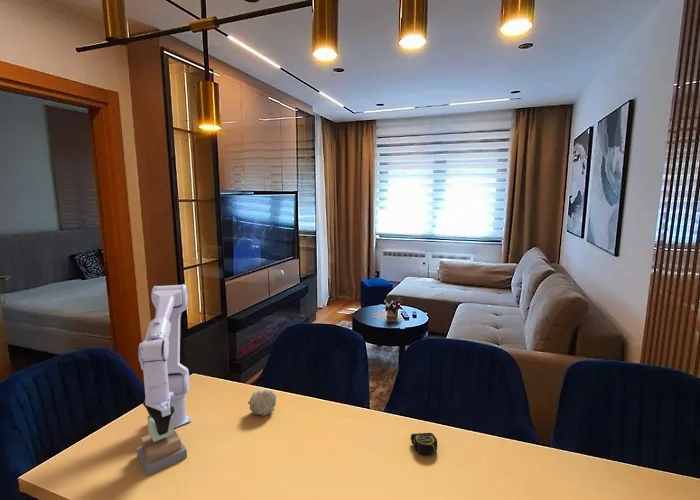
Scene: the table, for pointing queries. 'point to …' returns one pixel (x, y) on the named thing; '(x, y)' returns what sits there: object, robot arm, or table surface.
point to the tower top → (160, 446)
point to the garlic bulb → (262, 402)
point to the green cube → (154, 432)
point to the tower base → (160, 460)
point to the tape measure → (424, 443)
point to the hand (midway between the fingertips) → (160, 429)
